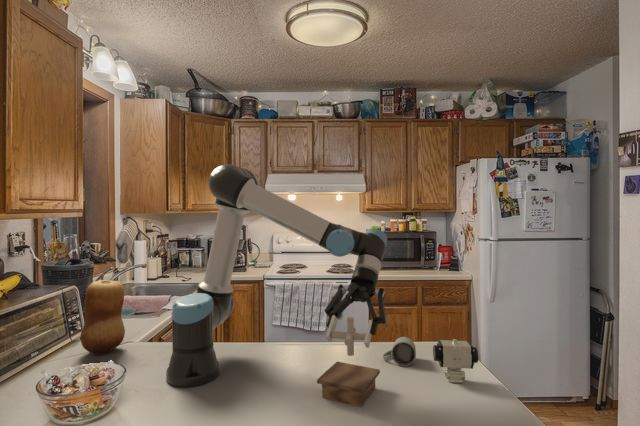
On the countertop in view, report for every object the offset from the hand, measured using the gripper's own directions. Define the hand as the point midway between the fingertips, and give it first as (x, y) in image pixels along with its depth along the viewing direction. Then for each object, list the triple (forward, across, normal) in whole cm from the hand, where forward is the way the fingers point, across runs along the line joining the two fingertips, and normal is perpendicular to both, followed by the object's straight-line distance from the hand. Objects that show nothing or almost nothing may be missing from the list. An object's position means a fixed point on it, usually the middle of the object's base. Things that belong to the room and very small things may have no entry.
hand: (346, 342), depth 100 cm
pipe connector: (+1, 0, -5) cm, 5 cm away
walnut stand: (+9, 0, -12) cm, 15 cm away
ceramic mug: (-10, -7, -31) cm, 33 cm away
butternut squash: (+16, +88, -4) cm, 90 cm away
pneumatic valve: (-5, -25, -26) cm, 36 cm away
